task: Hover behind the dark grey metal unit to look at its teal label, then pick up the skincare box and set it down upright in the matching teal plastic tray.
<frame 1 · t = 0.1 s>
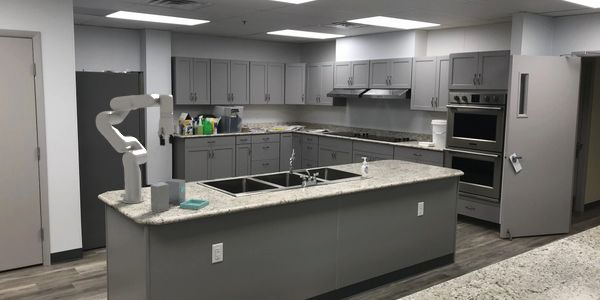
hand: (167, 144, 287), 37 cm above the countertop, tool pointing down, fingers open, 9 cm apart
unit: (176, 202, 297), on the countertop
tray: (194, 205, 291), on the countertop
skincare box: (160, 211, 278), on the countertop
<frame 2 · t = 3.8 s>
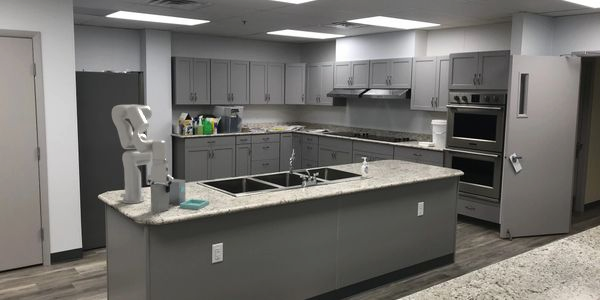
hand: (160, 191, 276), 11 cm above the countertop, tool pointing down, fingers open, 9 cm apart
skincare box: (160, 211, 278), on the countertop, touching gripper
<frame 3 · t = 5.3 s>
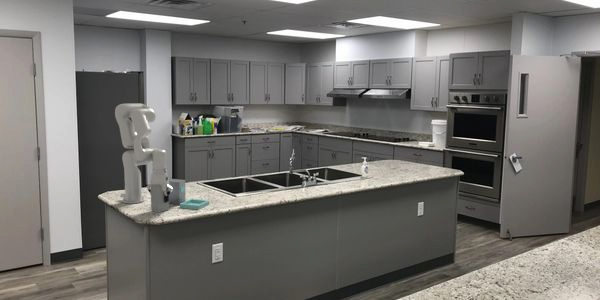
hand: (159, 201, 278), 6 cm above the countertop, tool pointing down, fingers closed on skincare box, 8 cm apart
skincare box: (160, 211, 278), on the countertop, touching gripper
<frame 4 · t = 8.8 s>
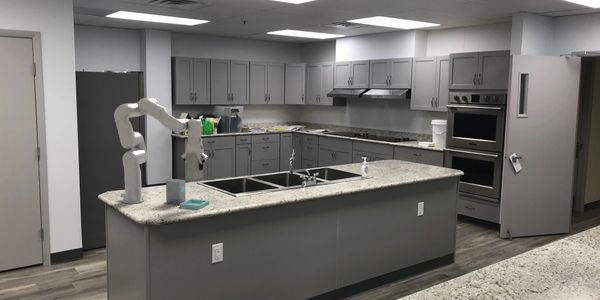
hand: (194, 169, 288), 22 cm above the countertop, tool pointing down, fingers closed on skincare box, 8 cm apart
skincare box: (194, 179, 288), point 16 cm above the countertop, touching gripper
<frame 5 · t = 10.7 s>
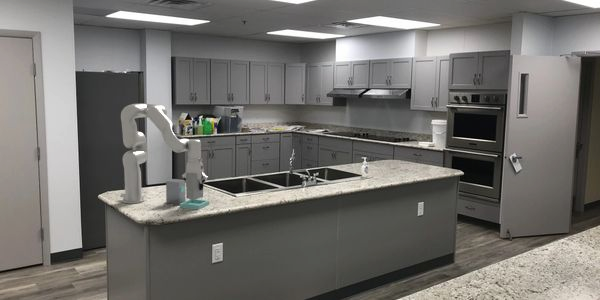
hand: (194, 189, 289), 10 cm above the countertop, tool pointing down, fingers closed on skincare box, 8 cm apart
skincare box: (194, 198, 290), point 4 cm above the countertop, touching gripper
when the fingers open (8 cm above the countertop, at t = 12.3 s): skincare box drops 2 cm, resting on tray.
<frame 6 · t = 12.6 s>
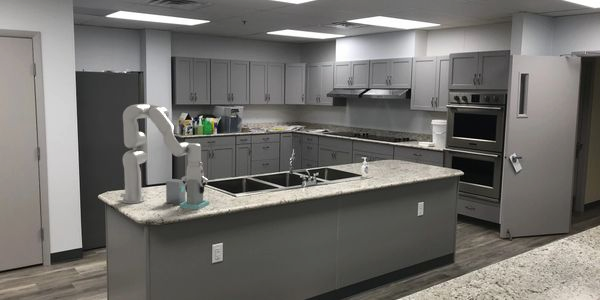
hand: (194, 192, 290), 8 cm above the countertop, tool pointing down, fingers open, 9 cm apart
skincare box: (195, 205, 291), resting on tray
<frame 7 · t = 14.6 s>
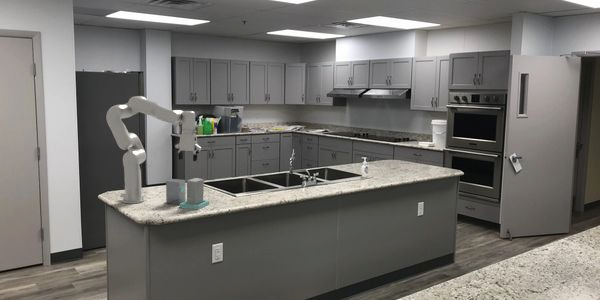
hand: (187, 160, 291), 27 cm above the countertop, tool pointing down, fingers open, 9 cm apart
nothing on the countertop moved.
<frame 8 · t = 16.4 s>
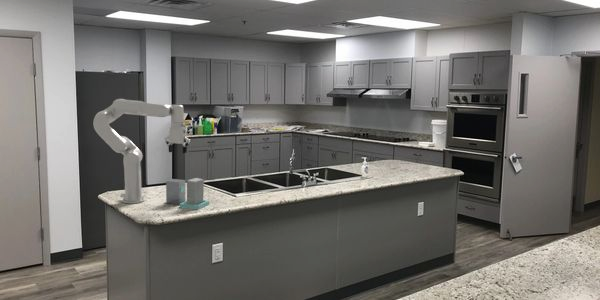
hand: (177, 152, 299), 30 cm above the countertop, tool pointing down, fingers open, 9 cm apart
nothing on the countertop moved.
at the end: skincare box inside the target area on the tray (0.3 cm from its centre), point 0.3 cm above the tray's base; skincare box tilted 0°; the gripper is holding nothing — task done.
